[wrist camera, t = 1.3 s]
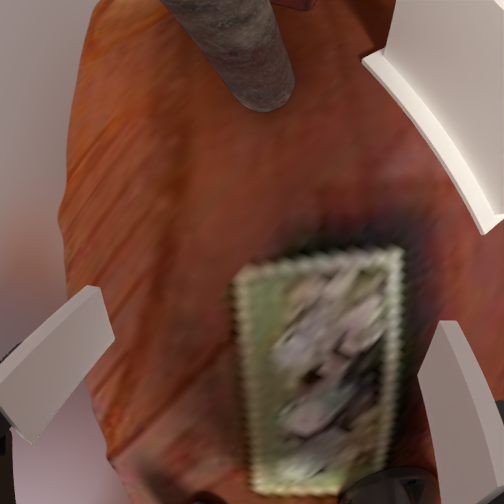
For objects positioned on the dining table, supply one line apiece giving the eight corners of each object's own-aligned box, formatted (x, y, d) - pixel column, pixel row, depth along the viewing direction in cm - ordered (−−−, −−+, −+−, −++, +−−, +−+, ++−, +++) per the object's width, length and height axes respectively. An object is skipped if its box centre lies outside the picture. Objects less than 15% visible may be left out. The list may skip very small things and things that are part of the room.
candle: (220, 89, 33) (133, -15, 14) (262, 51, 32) (208, -68, 12) (264, 125, 32) (193, 11, 13) (308, 84, 31) (282, -49, 11)
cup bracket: (543, 176, 24) (646, 144, 4) (480, 234, 27) (607, 231, 8) (436, 27, 26) (475, -74, 7) (361, 63, 29) (374, -68, 10)
